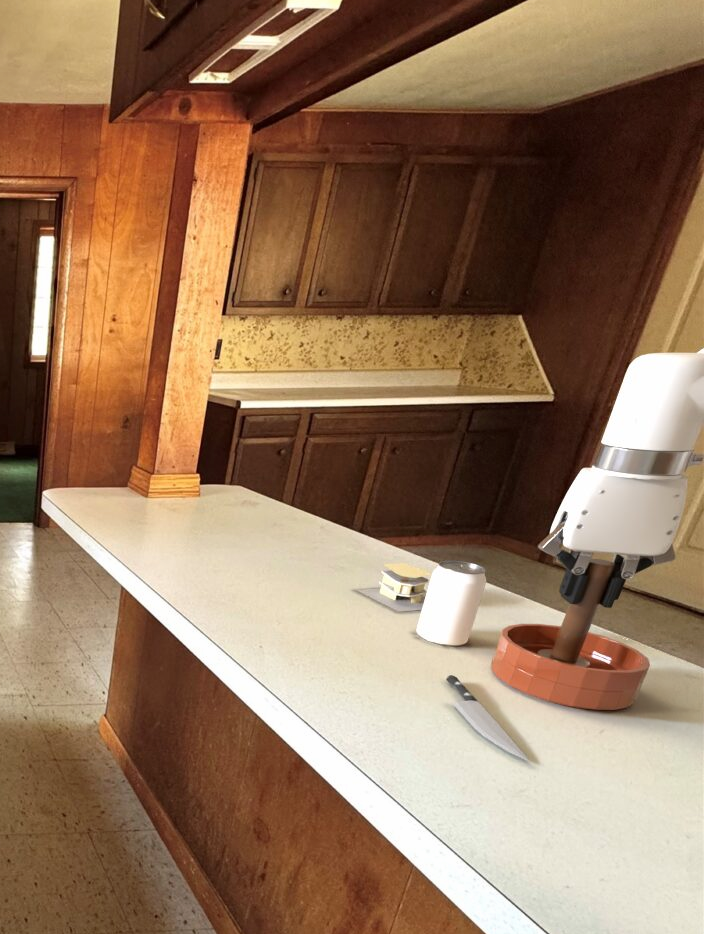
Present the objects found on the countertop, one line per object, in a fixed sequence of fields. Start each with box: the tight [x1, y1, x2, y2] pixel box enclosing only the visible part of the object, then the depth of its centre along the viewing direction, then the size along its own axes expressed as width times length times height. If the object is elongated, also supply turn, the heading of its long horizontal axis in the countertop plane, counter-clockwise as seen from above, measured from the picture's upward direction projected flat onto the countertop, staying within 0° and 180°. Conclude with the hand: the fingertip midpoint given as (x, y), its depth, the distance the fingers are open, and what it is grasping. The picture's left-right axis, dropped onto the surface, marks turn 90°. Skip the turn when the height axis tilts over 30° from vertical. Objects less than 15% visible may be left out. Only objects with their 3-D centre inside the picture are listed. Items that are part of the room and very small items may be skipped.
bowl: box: [490, 623, 651, 711], centre depth 89 cm, size 14×14×6 cm
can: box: [416, 560, 487, 647], centre depth 102 cm, size 6×6×12 cm
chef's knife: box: [445, 674, 530, 763], centre depth 84 cm, size 19×1×3 cm
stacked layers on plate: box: [356, 562, 432, 613], centre depth 118 cm, size 10×9×6 cm
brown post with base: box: [537, 558, 615, 668], centre depth 87 cm, size 5×5×15 cm
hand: (585, 600), depth 86 cm, fingers closed on brown post with base, 2 cm apart
